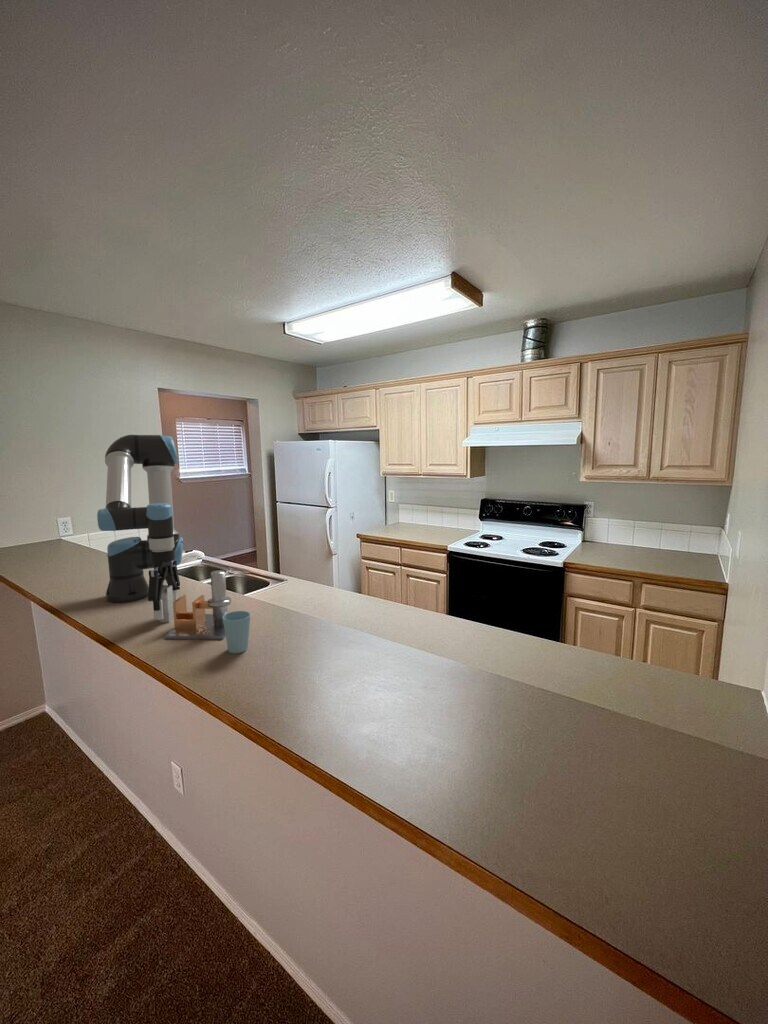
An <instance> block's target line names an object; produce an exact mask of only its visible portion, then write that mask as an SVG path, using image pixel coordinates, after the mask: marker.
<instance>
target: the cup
mask: <svg viewBox="0 0 768 1024" xmlns="http://www.w3.org/2000/svg"><path fill="white" fill-rule="evenodd" d="M223 624H224V629H225V635H226V637H225V641H226V646H227V651H228V653H230V654H240V653H244V652H246V651H247V650H248V648H249V636H250V627H251V626H250V625H251V613H250V612H249V611H246V610H235V611H231V612H227V614H225V615H224V616H223Z"/></svg>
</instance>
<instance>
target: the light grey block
mask: <svg viewBox="0 0 768 1024" xmlns="http://www.w3.org/2000/svg"><path fill="white" fill-rule="evenodd" d="M160 600H162V603H163V618H164V619H158V620H159V621H158V622H159V623H172V621H174V611H173V590H172V585H168V584H166V585H165V584H163V588H162V594H161V599H160Z"/></svg>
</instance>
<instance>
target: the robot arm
mask: <svg viewBox="0 0 768 1024" xmlns="http://www.w3.org/2000/svg"><path fill="white" fill-rule="evenodd" d="M178 462H179V461H178V454H177V450H176V444H175V442H174V438H173V437H172V436H170V435H163V434H127V435H124V436H122V437H121V436H120V438H119V437H118V438H117V439H116V440H115V441H113V442H112V443H111V444H110V446H108V448H107V450H106V451H105V455H104V463H105V465H106V466H107V471H106V473H107V475H106V477H107V478H106V493H105V495H106V496H105V508H100V509H98V511H97V514H96V518H97V520H96V521H97V526H98V529H99V530H100V531H102V532H116V531H128V530H141V529H142V530H144V529H145V530H146V529H147V532H148V534H147V536H146V539H144V540H142V538H141V536H131V537H125V538H120V539H117V540H113V541H111V542H110V543H108V545H107V548H106V549H107V551H106V552H107V554H106V557H107V562H108V574H109V581H108V584H107V588H106V591H105V600H106V601H107V602H109V603H127V602H134V601H138V600H141V599H144V598H147V601H148V602H152V605H153V606H152V607H153V618H154V620H159V619H164V618H163V603H162V600H160V599H161V594H162V588H163V585H164V584H165V583H164V582H166V585H172V590H173V602H174V601H176V600H177V599H178V591H179V590H181V581H180V577H179V572H178V566H179V565H180V564H181V562H182V560H183V559H182V558H183V547H184V537H183V536H182V537H181V536H180V533H179V531H177V530H176V529H175V522H174V521H175V517H174V516H175V515H174V505H173V489H172V488H173V487H172V475H171V473H172V471H173V470H174V469H175V465H176V464H178ZM134 465H142V470H144V471H145V472H146V475H147V490H148V504H147V506H143V507H142V506H138V507H132V468H133V467H134ZM149 569H152V570H149ZM144 570H148V578H149V579H148V582H147V580H146V578H145V574H144Z"/></svg>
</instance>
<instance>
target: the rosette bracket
mask: <svg viewBox="0 0 768 1024" xmlns="http://www.w3.org/2000/svg"><path fill="white" fill-rule="evenodd" d="M226 577H227V576H226V571H225V570H223V569H221V570H219V569H218V570H214V571H211V572H210V581H211V582H210V585H211V587H210V589H211V598H210V599H208V600H205V595H204V594H201V595H200V596H199V597H198V598H196V599H195V600H194V601H192V602H191V605H192V612H191V611H188V609H187V595H186V594H183V595H182V596H180V597H177V600H176V601H174V602H173V611H174V619H173V623H174V628H172V630H170V631H169V632H168V633H167V634H165V635H164V639H165V640H224V639H226V635H225V629H224V624H223V616H224V615H225V614H227V613H228V606H229V605H231V604H232V598H231V597H229V596H227V582H226V581H227V580H226ZM207 609H209V610H210V609H211V610H212V613H206V610H207Z"/></svg>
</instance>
